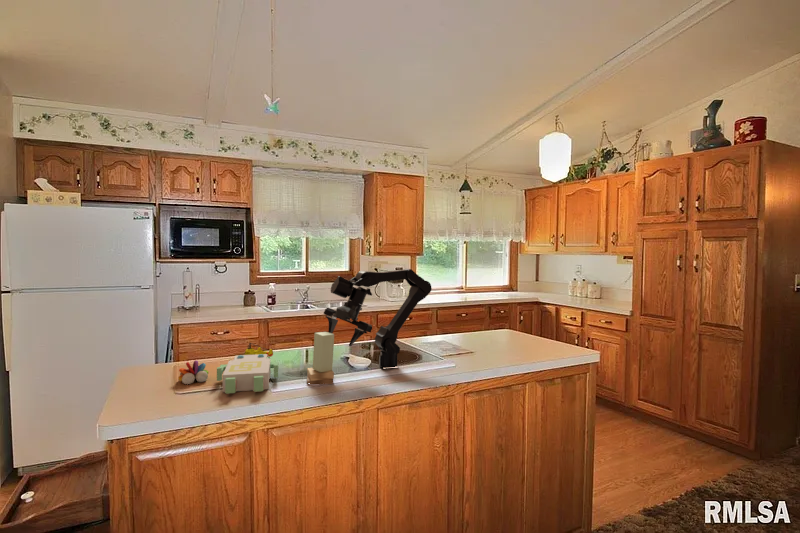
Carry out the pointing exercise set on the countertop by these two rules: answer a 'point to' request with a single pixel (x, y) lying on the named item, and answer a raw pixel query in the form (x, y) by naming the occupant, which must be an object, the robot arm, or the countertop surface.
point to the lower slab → (319, 381)
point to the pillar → (323, 351)
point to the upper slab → (319, 374)
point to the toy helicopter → (257, 351)
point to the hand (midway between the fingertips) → (339, 341)
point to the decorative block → (247, 373)
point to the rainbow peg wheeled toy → (193, 373)
